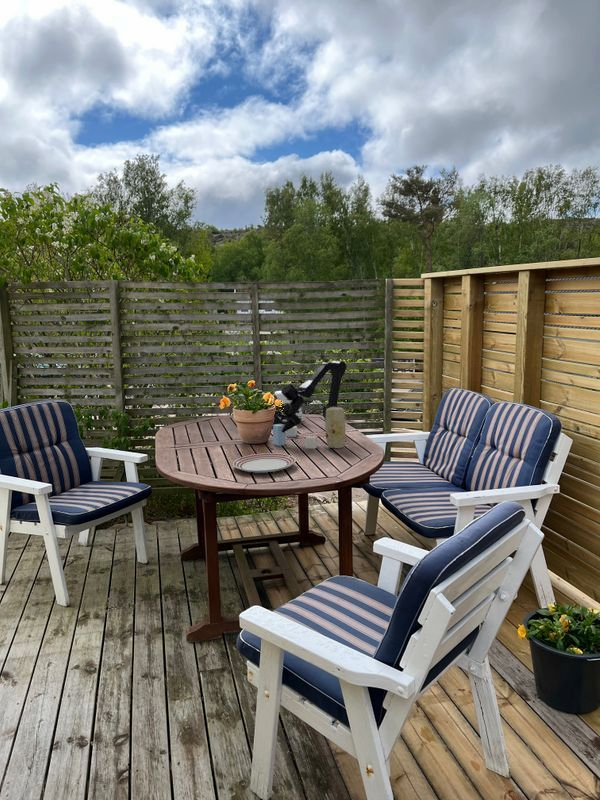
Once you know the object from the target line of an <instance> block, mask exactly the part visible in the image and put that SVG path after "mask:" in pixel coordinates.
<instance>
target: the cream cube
mask: <svg viewBox="0 0 600 800" xmlns="http://www.w3.org/2000/svg"><path fill="white" fill-rule="evenodd" d="M317 447H318V436H317V435H316V436H315V435H313V436H312V435H311V436H310V435H307V436H306V437H305V449H316V448H317Z"/></svg>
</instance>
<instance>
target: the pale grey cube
mask: <svg viewBox="0 0 600 800" xmlns="http://www.w3.org/2000/svg"><path fill="white" fill-rule="evenodd" d="M296 435H298V425H297V426H295V427H293V428H291V429H289V430H287V431H286V436H288V438H289V437H290V438H295V437H297V436H296Z"/></svg>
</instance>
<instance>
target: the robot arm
mask: <svg viewBox="0 0 600 800" xmlns="http://www.w3.org/2000/svg"><path fill="white" fill-rule="evenodd" d="M346 370H347V364H346V362H345V361H344V360H333V361H332V362H325V361H324V362H321V364H320V366H319V367H318V368H317V369H316V371H315V372H313V375H311V376H310V378H309V379H308V380H307V381H305V382H304V383H302V384H301V385H300V386H298V388H295V386H294V385H293V384H292V383H289V384H288V385H286V386H284V387H283V388H282V389H281V390H280V391H281V393H282V394H283V395H284V396H285V397H286V398H287V399H288V400H289V401H291V400H292V401H291V402H290V404H288V403H285V404H282V403H281V404H282V405H281V406H282V407H278V406H276V409H281V410H283V411H281V412H282V413H283V414H282V413H281V412H280V411H279V410H275V415H274V416H273V423H272V425H271V428H270V429H272V431H273V425H275V424H283V423H282V421H283V420H284V419H287V423H284V425H285V426H284V428H283V429H282V432H283V433H284V432H285V431H287V430H289V429H291V428H293V427H295V426H297V427H298V426H300V425H301V424H302V419H300V418H299V417H298V416H297V415H296V413H299V411H298V410H299V409H300V408H301V409H302V407H303V405H305V406H307V405H308V400H307V399H309V398H311V397H312V396H313V395H314V392H315V390H316V387H317V385H318V384H319V382H321V381H322V379H323V378H324V377H325V376H326V374H327V373H328V372H329V371H330V374H331V383H330V388H329V394H328V400H327V404H326V405H323V407H322V412H321V413H322V417H323V419H324V420H325V419H326V409H328V408H330V407H339V406H338V401H339V397H340V396H339V395H340V388H341V381H342V378H343V377H344V375H345V374H346ZM283 408H284V409H283Z"/></svg>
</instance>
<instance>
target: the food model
mask: <svg viewBox="0 0 600 800" xmlns="http://www.w3.org/2000/svg"><path fill="white" fill-rule="evenodd" d="M324 421H325V423H324V424H325V425H324V426H325V427H324V428H325V429H324V430H325V440H326V444H327V447H328V448H333V449H336V448H339V449H341V448H344V447H345V446H346V415H345V409H344V408H343V407H339V406H338V407H330V408H328V409H326V419H324Z"/></svg>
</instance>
